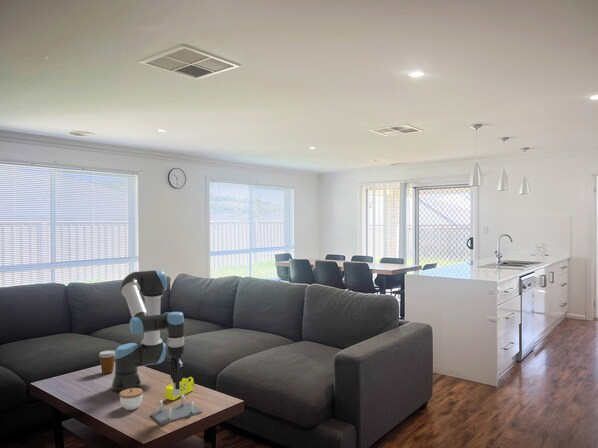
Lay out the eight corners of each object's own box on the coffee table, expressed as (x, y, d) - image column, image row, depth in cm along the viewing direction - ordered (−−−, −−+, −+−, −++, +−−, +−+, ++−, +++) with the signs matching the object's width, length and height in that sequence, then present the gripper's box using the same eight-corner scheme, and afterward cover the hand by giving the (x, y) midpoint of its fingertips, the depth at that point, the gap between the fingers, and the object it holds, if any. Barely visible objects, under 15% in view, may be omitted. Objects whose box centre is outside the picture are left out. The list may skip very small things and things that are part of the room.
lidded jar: (129, 414, 214) (128, 394, 214) (114, 409, 220) (114, 390, 220) (147, 406, 223) (147, 387, 223) (133, 401, 229) (133, 383, 229)
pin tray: (150, 415, 212) (150, 402, 212) (190, 404, 224) (190, 392, 224) (161, 425, 202) (161, 411, 202) (202, 413, 214) (201, 400, 214)
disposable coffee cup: (95, 373, 271) (95, 354, 271) (105, 368, 280) (104, 349, 280) (110, 374, 269) (110, 354, 269) (119, 369, 279) (118, 350, 279)
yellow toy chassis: (173, 402, 228) (173, 385, 228) (165, 400, 231) (165, 383, 231) (194, 391, 243) (194, 375, 243) (186, 389, 245) (186, 374, 245)
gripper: (162, 344, 216) (163, 393, 216) (173, 349, 205) (174, 401, 205) (177, 341, 220) (178, 389, 220) (189, 346, 210) (189, 397, 210)
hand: (176, 395), depth 213 cm, fingers closed
